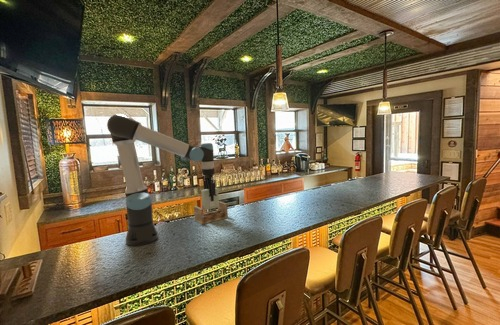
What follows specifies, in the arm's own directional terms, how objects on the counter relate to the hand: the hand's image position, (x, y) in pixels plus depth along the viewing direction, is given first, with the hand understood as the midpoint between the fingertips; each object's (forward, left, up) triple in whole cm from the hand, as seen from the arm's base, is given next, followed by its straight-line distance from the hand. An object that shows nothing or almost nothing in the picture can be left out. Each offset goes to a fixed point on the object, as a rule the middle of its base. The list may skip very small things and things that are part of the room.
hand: (210, 205), depth 156 cm
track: (0, 0, -9) cm, 9 cm away
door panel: (0, 0, -2) cm, 2 cm away
